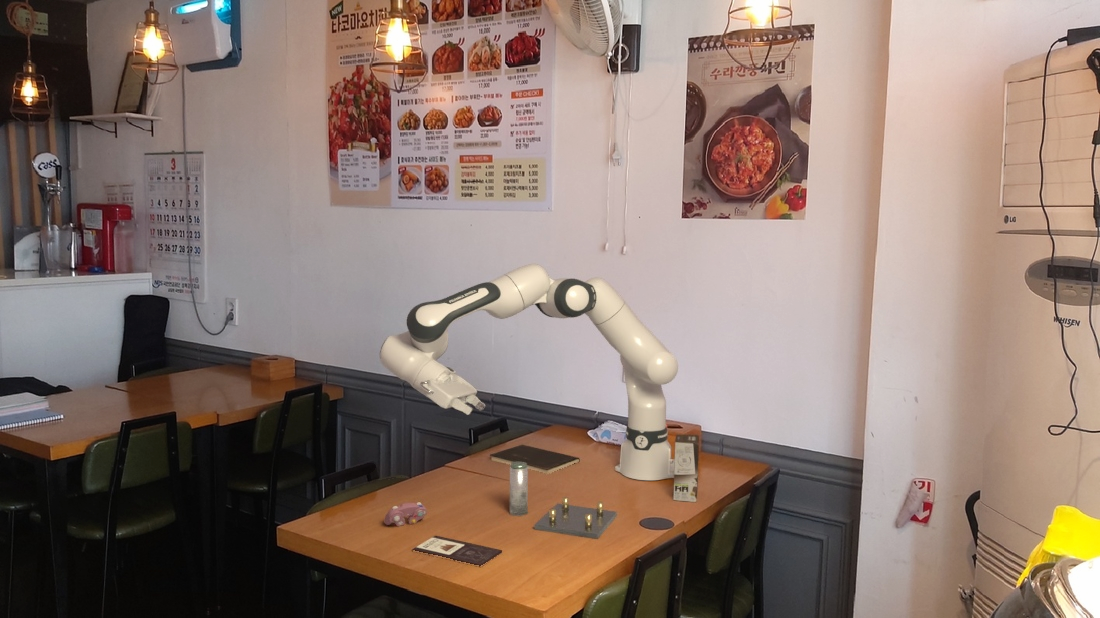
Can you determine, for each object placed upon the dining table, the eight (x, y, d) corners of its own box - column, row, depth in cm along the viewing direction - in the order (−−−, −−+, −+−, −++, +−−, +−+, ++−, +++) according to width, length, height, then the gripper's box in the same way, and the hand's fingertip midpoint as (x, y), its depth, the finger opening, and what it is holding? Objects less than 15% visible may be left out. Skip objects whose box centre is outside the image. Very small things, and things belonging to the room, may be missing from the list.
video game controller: (387, 534, 196) (390, 514, 193) (382, 521, 199) (385, 500, 196) (426, 528, 201) (430, 507, 197) (420, 514, 204) (424, 494, 200)
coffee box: (697, 502, 216) (698, 443, 214) (672, 500, 217) (674, 441, 216) (698, 491, 225) (699, 434, 223) (674, 489, 226) (676, 433, 224)
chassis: (557, 507, 211) (557, 492, 211) (616, 516, 205) (617, 500, 205) (534, 529, 196) (534, 512, 196) (597, 539, 190) (597, 521, 190)
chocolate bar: (480, 565, 174) (412, 549, 182) (480, 569, 174) (412, 553, 183) (501, 550, 182) (435, 535, 190) (501, 554, 182) (435, 539, 191)
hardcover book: (547, 476, 239) (547, 468, 238) (489, 461, 253) (489, 454, 253) (579, 464, 251) (579, 457, 251) (523, 450, 265) (523, 444, 265)
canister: (513, 508, 210) (514, 460, 209) (530, 510, 209) (530, 462, 207) (506, 514, 206) (506, 465, 205) (523, 516, 204) (523, 467, 203)
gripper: (423, 372, 196) (469, 403, 193) (453, 367, 216) (495, 396, 213) (410, 394, 197) (456, 425, 194) (441, 387, 217) (483, 416, 214)
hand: (477, 410), depth 204 cm, fingers open, 8 cm apart
